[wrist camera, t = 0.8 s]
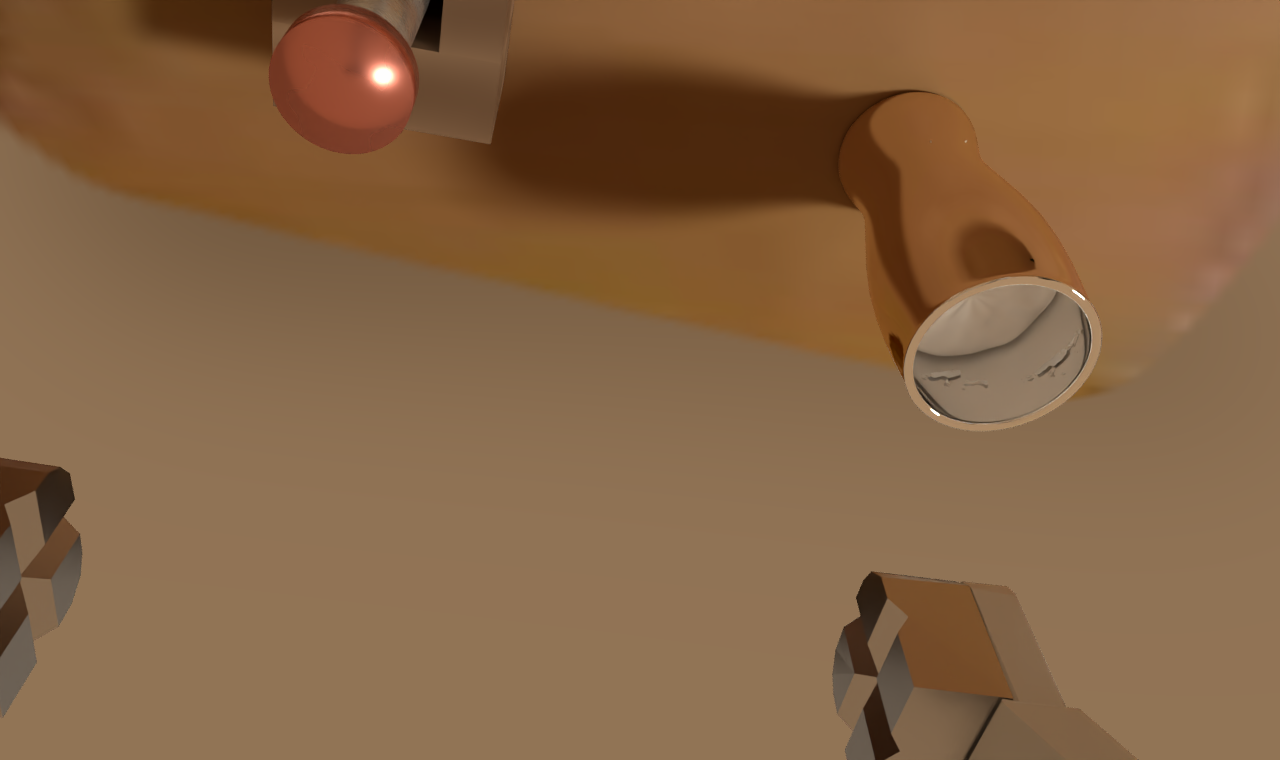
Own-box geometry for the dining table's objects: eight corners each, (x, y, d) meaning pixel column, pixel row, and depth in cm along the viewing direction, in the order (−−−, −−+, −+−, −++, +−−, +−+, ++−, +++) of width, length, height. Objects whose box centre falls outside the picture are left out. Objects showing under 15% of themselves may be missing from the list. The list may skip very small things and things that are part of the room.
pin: (367, -125, 39) (267, 5, 28) (473, -103, 40) (417, 34, 29) (362, -19, 42) (270, 140, 31) (463, 1, 42) (408, 164, 31)
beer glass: (986, 205, 48) (1104, 417, 37) (836, 236, 49) (905, 452, 38) (982, 64, 44) (1114, 251, 32) (818, 100, 45) (889, 295, 33)
